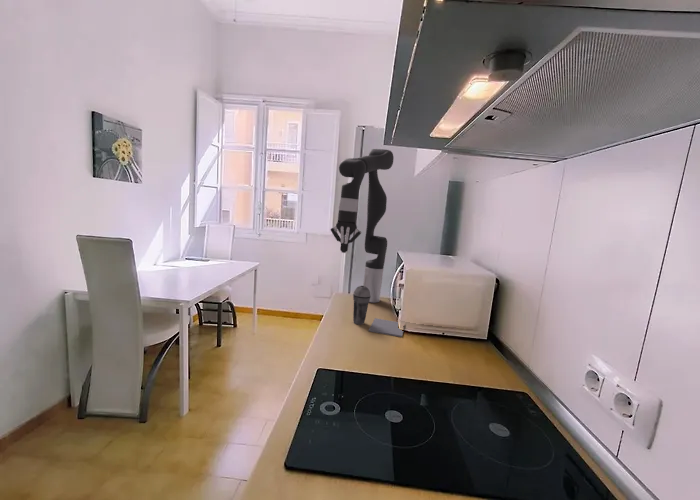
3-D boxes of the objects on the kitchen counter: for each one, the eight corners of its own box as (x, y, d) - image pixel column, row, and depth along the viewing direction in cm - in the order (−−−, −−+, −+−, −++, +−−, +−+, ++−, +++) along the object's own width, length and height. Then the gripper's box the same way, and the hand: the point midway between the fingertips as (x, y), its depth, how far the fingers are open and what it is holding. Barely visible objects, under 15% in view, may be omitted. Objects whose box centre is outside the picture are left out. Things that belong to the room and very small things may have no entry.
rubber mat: (374, 319, 158) (375, 318, 158) (405, 324, 155) (405, 323, 155) (368, 331, 142) (368, 329, 142) (401, 337, 140) (402, 335, 140)
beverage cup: (347, 320, 153) (352, 273, 150) (362, 319, 156) (367, 273, 154) (354, 326, 147) (360, 277, 144) (370, 325, 150) (376, 277, 147)
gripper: (365, 211, 150) (361, 253, 152) (334, 208, 152) (330, 249, 155) (362, 211, 142) (357, 255, 145) (329, 208, 145) (325, 251, 147)
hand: (343, 252), depth 150 cm, fingers closed
